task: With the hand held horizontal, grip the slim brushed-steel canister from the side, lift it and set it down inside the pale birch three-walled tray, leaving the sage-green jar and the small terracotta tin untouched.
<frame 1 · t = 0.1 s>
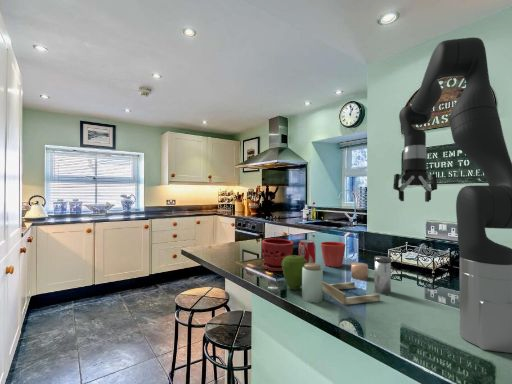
hand: (414, 201, 103), 29 cm above the counter, tool pointing down, fingers open, 8 cm apart
plant pot: (277, 269, 114), on the counter
sage jar: (312, 298, 81), on the counter
flower pot: (332, 265, 122), on the counter
terracotta tin: (359, 277, 104), on the counter
steel canister: (382, 291, 88), on the counter
green bell pepper: (294, 289, 90), on the counter
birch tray: (349, 295, 84), on the counter
soda can: (306, 270, 114), on the counter
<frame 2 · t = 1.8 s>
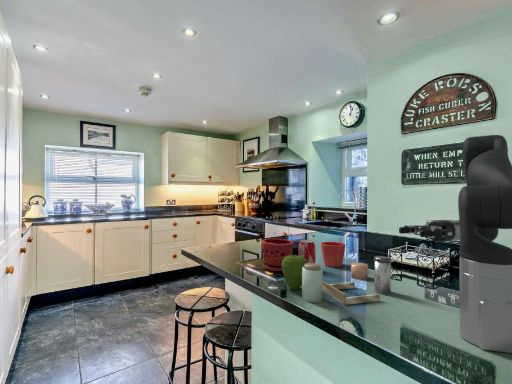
hand: (409, 232, 92), 19 cm above the counter, tool horizontal, fingers open, 8 cm apart
nothing on the counter moved.
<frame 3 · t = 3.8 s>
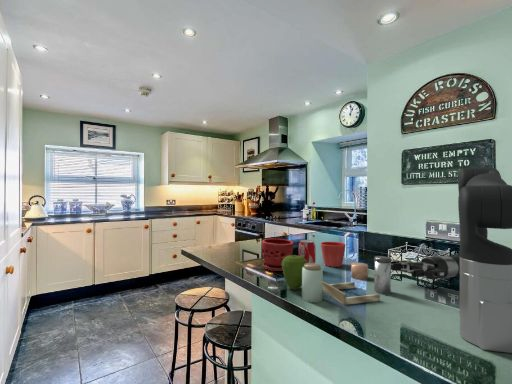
hand: (401, 270, 90), 6 cm above the counter, tool horizontal, fingers open, 8 cm apart
nothing on the counter moved.
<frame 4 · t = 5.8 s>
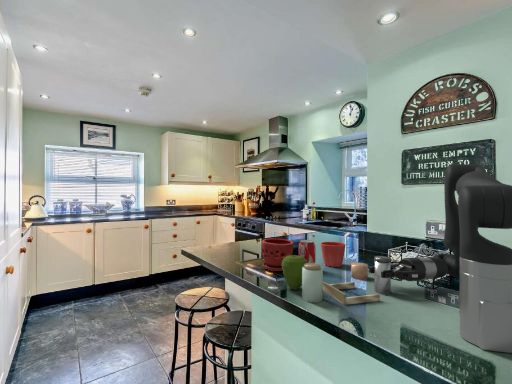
hand: (375, 272, 87), 7 cm above the counter, tool horizontal, fingers closed on steel canister, 5 cm apart
steel canister: (382, 291, 88), on the counter, touching gripper
everything else where it was.
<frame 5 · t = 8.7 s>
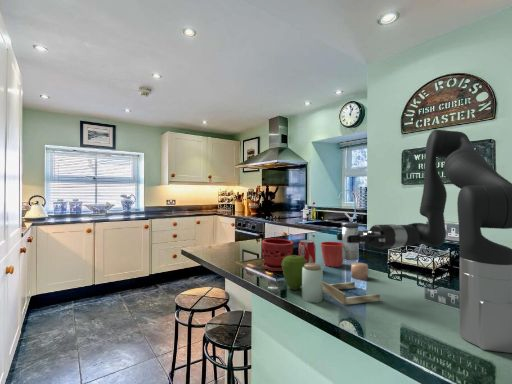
hand: (342, 237, 84), 18 cm above the counter, tool horizontal, fingers closed on steel canister, 4 cm apart
steel canister: (350, 258, 85), point 11 cm above the counter, touching gripper
everything else where it was.
when the fingers open (7 cm above the counter, at t = 11.6 s): steel canister stays where it is, resting in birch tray.
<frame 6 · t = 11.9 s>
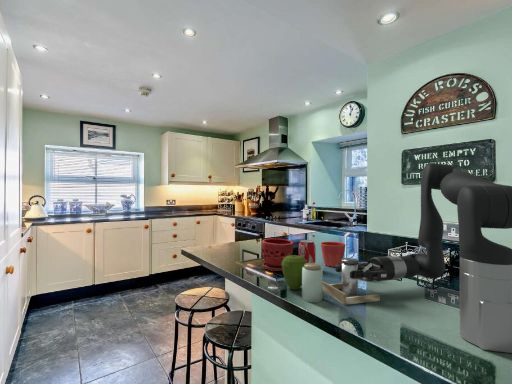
hand: (343, 271, 84), 8 cm above the counter, tool horizontal, fingers open, 7 cm apart
steel canister: (349, 295, 84), resting in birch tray
everything else where it was.
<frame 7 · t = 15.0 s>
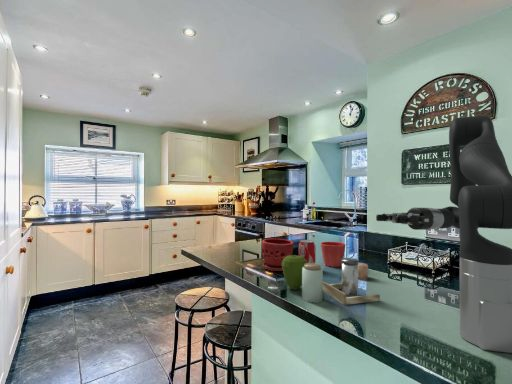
hand: (386, 218, 89), 24 cm above the counter, tool horizontal, fingers open, 8 cm apart
nothing on the counter moved.
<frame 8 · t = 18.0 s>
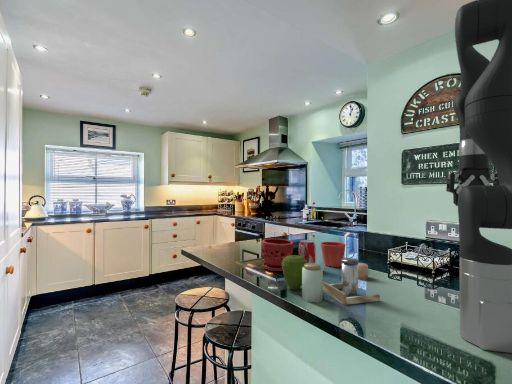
hand: (473, 206, 85), 28 cm above the counter, tool pointing down, fingers open, 8 cm apart
nothing on the counter moved.
at the end: steel canister 0.1 cm from the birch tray (horizontally); steel canister tilted 0°; sage jar moved 0.0 cm from its start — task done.
